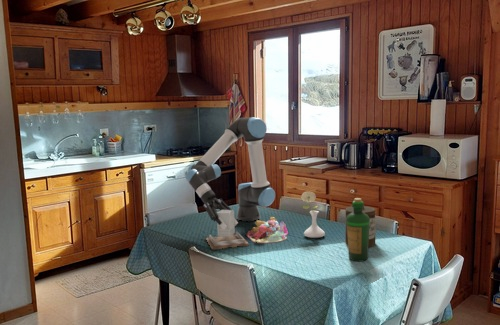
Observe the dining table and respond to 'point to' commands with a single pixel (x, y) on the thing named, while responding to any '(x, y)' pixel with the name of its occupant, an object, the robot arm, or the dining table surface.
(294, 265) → the dining table surface
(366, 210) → the wooden container
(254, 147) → the robot arm
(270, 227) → the candy landscape model
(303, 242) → the dining table surface
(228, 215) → the supplement box
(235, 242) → the board
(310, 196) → the flower in vase
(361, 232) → the bottle
